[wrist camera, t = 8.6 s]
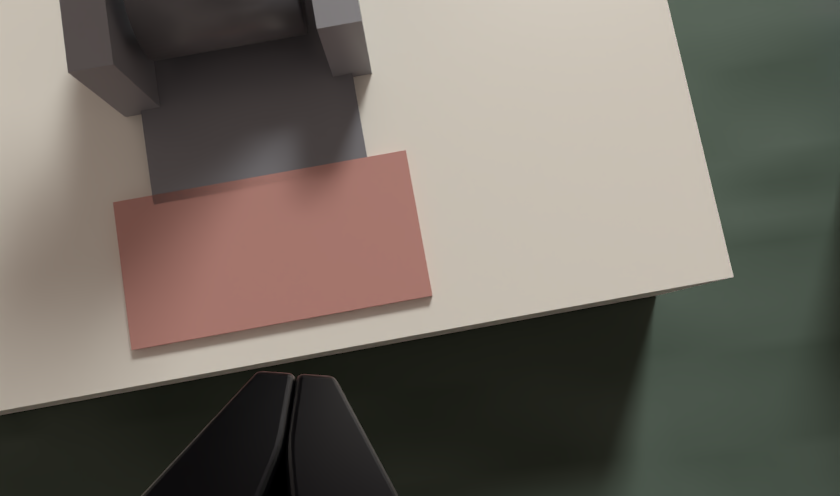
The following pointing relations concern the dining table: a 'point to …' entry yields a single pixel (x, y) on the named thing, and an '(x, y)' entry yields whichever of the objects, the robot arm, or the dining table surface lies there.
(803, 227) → the dining table surface
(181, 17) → the breaker lever
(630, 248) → the breaker housing
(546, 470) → the dining table surface
